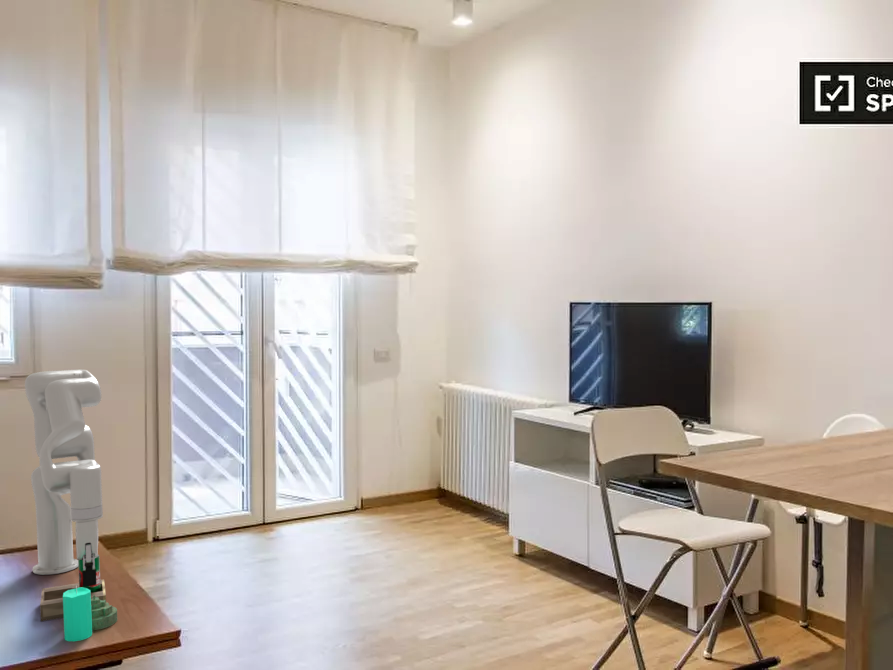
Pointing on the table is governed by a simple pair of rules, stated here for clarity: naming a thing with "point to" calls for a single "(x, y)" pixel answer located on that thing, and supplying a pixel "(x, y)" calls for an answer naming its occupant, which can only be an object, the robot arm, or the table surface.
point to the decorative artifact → (102, 614)
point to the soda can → (97, 566)
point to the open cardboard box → (60, 600)
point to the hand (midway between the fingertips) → (89, 581)
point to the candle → (77, 614)
